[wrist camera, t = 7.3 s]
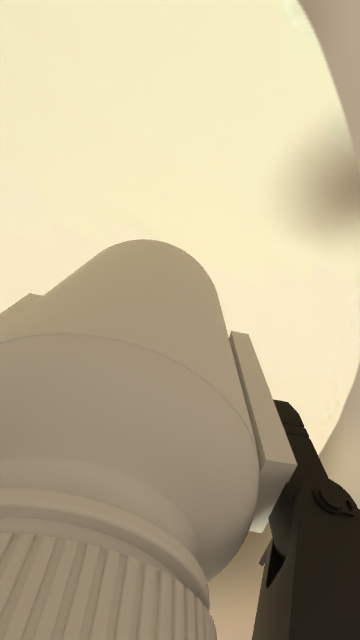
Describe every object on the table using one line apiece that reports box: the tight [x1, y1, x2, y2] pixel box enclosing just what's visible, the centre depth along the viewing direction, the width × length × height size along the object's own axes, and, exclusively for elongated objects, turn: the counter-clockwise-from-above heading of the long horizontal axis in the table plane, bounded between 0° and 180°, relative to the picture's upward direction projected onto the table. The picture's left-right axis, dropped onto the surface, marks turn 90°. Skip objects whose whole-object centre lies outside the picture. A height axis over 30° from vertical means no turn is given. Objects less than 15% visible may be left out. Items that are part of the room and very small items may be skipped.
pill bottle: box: [0, 240, 260, 640], centre depth 10 cm, size 8×8×15 cm
